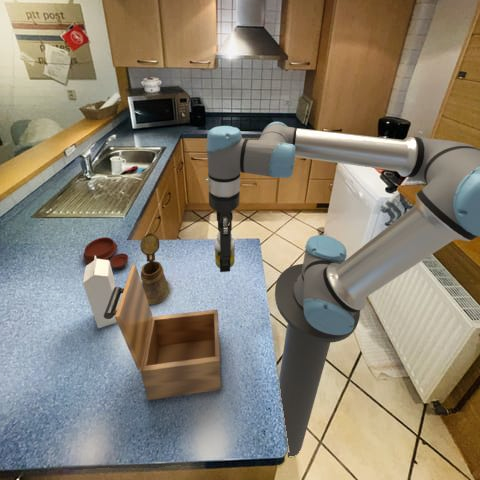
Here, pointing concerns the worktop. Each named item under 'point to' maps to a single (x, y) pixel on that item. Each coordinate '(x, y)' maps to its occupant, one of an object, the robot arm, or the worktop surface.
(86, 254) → the pottery
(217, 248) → the supplement bottle
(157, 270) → the wooden mug
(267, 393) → the worktop surface
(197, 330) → the chest
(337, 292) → the robot arm
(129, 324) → the chest lid
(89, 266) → the milk
